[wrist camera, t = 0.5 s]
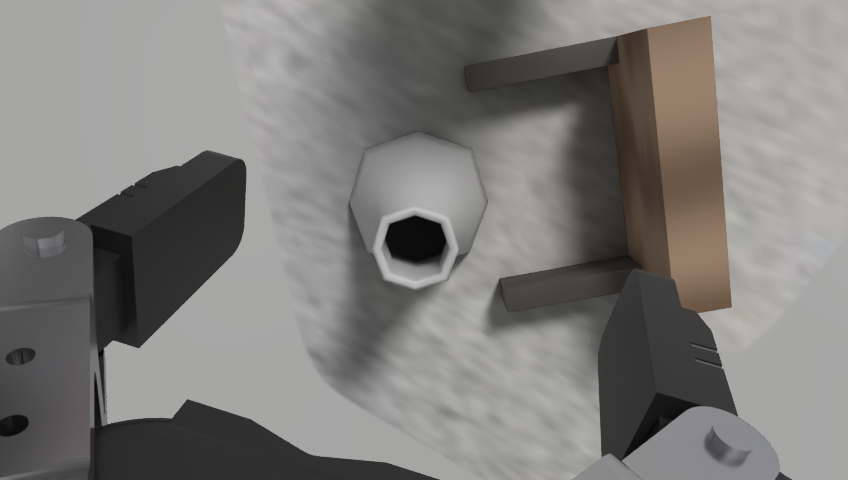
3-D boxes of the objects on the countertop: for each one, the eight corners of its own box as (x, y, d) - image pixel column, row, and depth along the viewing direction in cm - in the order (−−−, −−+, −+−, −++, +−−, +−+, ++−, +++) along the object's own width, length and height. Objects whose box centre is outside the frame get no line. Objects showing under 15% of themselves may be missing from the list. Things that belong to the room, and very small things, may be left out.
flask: (351, 266, 33) (320, 341, 23) (347, 130, 31) (312, 150, 22) (485, 266, 33) (510, 341, 23) (489, 130, 31) (517, 150, 22)
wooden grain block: (464, 67, 30) (473, 62, 25) (655, 29, 30) (710, 15, 24) (503, 299, 33) (519, 344, 28) (677, 268, 33) (731, 307, 27)
